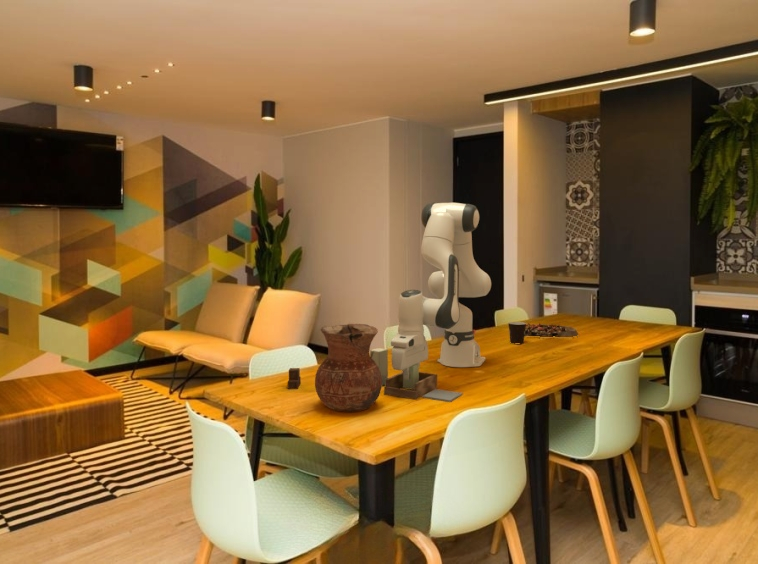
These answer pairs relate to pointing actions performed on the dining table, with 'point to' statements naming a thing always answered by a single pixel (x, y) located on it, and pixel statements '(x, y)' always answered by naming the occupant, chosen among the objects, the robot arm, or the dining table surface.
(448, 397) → the pad
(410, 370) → the block
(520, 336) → the dark brown cup
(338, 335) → the brown clay vase
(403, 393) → the caddy
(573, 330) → the food dish
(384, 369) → the box
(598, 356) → the dining table surface
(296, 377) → the stack of crates
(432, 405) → the dining table surface
